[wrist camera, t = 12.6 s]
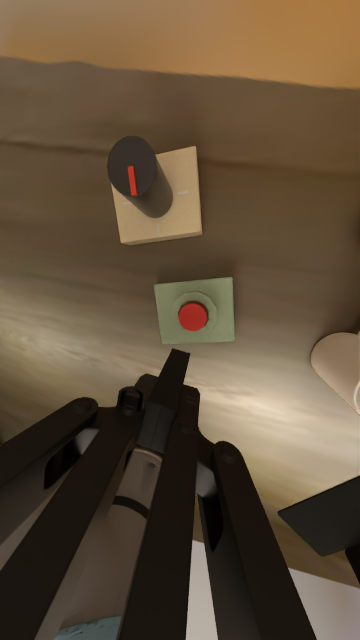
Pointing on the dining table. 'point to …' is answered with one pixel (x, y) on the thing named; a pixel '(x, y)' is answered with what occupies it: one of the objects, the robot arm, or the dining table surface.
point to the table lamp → (330, 521)
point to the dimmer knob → (139, 176)
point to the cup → (340, 365)
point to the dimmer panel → (182, 212)
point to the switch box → (205, 292)
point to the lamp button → (192, 316)
